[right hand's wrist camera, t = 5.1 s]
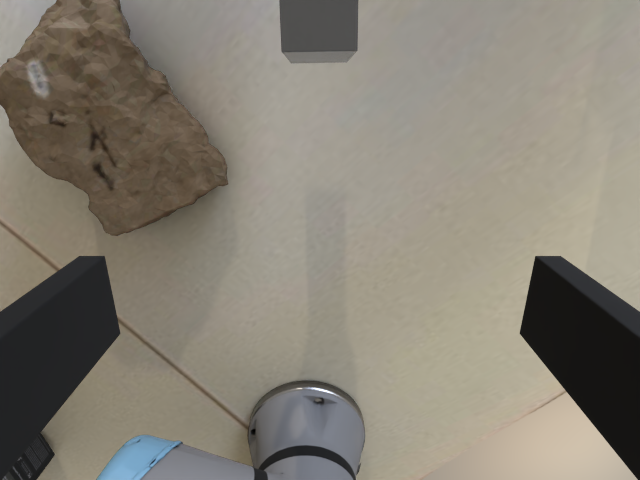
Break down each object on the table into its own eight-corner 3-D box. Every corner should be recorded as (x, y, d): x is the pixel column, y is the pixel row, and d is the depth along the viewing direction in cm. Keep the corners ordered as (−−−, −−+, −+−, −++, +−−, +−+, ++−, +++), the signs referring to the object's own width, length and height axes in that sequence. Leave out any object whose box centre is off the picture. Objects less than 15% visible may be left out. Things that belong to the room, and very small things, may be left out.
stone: (-39, 56, 36) (-79, 52, 31) (107, -26, 37) (93, -45, 32) (120, 238, 46) (111, 260, 40) (234, 169, 46) (240, 181, 41)
